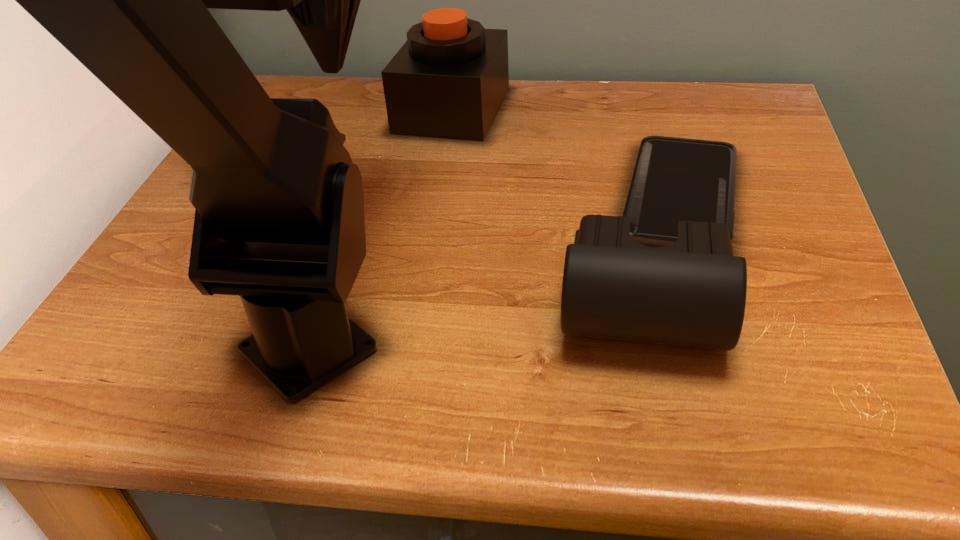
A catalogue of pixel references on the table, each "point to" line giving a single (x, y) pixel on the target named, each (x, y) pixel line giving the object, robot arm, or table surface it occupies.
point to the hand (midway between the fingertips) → (332, 71)
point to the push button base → (447, 84)
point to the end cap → (654, 286)
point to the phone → (680, 187)
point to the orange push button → (445, 24)
